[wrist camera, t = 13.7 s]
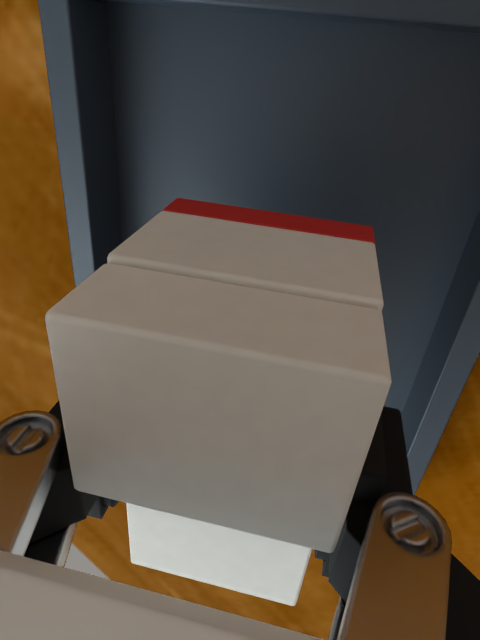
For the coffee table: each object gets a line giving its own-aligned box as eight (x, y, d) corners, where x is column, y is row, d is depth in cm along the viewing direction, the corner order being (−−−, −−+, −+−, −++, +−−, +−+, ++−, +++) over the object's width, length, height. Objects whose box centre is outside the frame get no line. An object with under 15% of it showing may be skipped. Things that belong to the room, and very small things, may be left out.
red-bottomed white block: (176, 196, 10) (39, 305, 6) (373, 225, 10) (396, 373, 5) (174, 461, 15) (97, 637, 10) (306, 492, 14) (287, 693, 10)
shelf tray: (87, -35, 12) (29, -55, 10) (584, 3, 10) (647, -10, 8) (123, 426, 21) (98, 469, 19) (389, 486, 20) (394, 539, 18)
